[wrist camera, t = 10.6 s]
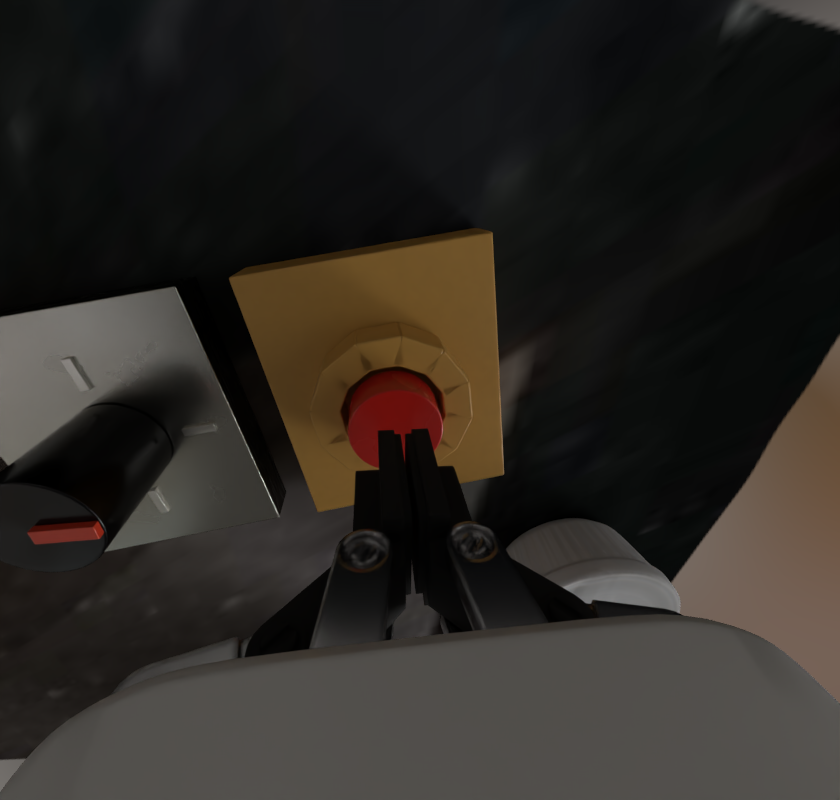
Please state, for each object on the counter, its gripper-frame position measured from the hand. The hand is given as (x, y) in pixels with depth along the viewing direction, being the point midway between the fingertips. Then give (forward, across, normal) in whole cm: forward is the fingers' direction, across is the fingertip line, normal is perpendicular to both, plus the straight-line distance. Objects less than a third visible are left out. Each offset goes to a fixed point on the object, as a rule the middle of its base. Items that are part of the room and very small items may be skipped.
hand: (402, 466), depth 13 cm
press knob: (+4, 0, 0) cm, 4 cm away
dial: (+5, +12, +2) cm, 13 cm away
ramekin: (+8, -12, +15) cm, 20 cm away
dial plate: (+7, +12, +2) cm, 14 cm away
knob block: (+7, 0, 0) cm, 7 cm away
